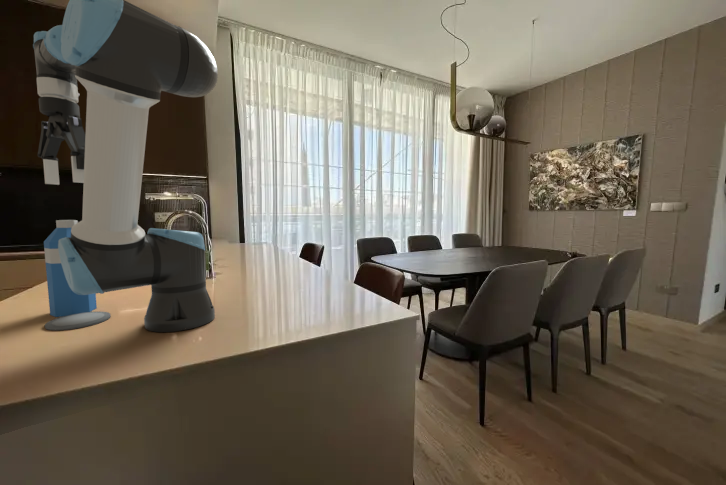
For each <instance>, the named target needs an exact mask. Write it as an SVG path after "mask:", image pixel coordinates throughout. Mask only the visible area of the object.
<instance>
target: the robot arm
mask: <svg viewBox="0 0 726 485" xmlns="http://www.w3.org/2000/svg"><path fill="white" fill-rule="evenodd" d="M32 48H33V50H34V60H35V68H36V88H37V95H38V96H39V98H38V106H39V110H38V111H39V112H40V113H41V114H42V115H45V116H47V118H48V121H44V120H42V121H40V122H41V124H40V125H41V129H40V130H41V131H40V138H39V144H38V150H37V157H38V158H41V160H42V162H43V163H42V164H43V175H44V184H45V185H57V186H59V185H60V175H59V173H60V172H59V161H60V160H59V158H58V157H57V155H58V153H59V150H60V147H61V144H62V143H63V142H64V141H65V143H66V144H67V146H68V148H69V149H70V153H69V155H70V162H71V174H72V183H78V184H79V183H80V184H83V191H82V192H83V194H82V213H81V214H82V215H81V216H82V218H81V220H80V221H78V223H77V224H75V225H73V226H72V228H71V238H69V237H65V238H62V239H59V241H58V242H59V243H58V250H59V256H60V260H61V264H62V268H63V271H64V274H65V277H66V280H67V282H68V285H69V287H70V288H71V290H72V291H73V292H74V293H76V294H78V295H88V294H96V295H97V294H100V295H101V294H105V293H110V292H115V291H121V290H127V289H133V288H140V287H145V286H151V288H150V289H151V296H150V299H149V302H148V305H147V309H146V313H145V315H144V318H143V321H144V322H143V323H144V329H146V330H147V331H149V332H155V333H172V332H180V331H187V330H191V329H195V328H198V327H201V326H204V325H206V324H208V323H210V322H212V321H214V319H215V318H216V317H215V316H216V315H215V313H216V312H215V306H214V305H213V302H212V299H211V297H210V295H209V292H208V289H207V282H206V281H207V278H206V277H207V276H206V246H205V240H204V236H203V234H202V233H200V232H199V231H189V230H188V231H187V230H179V229H178V230H176V229H166V228H154V227H150V228H148V230H147V234H146V232H145V229H143V228H142V227H141V226H140V225H139V224H138V222H139V221H138V220H139V214H140V212H139V211H140V202H141V192H142V191H141V190H142V184H143V183H142V182H143V174H144V173H143V171H144V162H145V151H146V142H147V131H148V123H149V111H150V108H151V107H153V106H154V105H156V104H157V103H159V102H161V96H162V95H161V93H162V92H165V93H169V94H173V95H177V96H180V97H185V98H186V97H187V98H200V97H204V96H207V95H208V94H210V93H211V92H212V91H213V89H214V88H215V87H216V85H217V83H218V78H219V77H218V76H219V74H218V73H219V70H218V65H217V62H216V59H215V57H214V56H213V54H212V52H211V50H210V49H209V48H208V46H207V45H206V44H205V43H204V42H203V41H202V40H201V39H200V38H199V37H198V36H197V35H195V34H194V33H192V32H190V31H189V30H188V29H185V28H183V27H180V26H178V25H176V24H173V23H171V22H169V21H168V20H166V19H163V18H162V17H160V16H157V15H155V14H153V13H151V12H149V11H147V10H145V9H143V8H141V7H140V6H137V5H135V4H133V3H131V2H129V1H127V0H69V1H68V3H67V6H66V9H65V11H64V16H63V20H62V24H59V25H58V24H57V25H56V26H52V28H50V29H49V30H48V31H46V30H41V31H36V32H34V34H33V44H32ZM78 82H79V83H80V84H81V86H83V87H84V88H85V90H86V112H85V114H86V115H85V129H84V127H83V123H82V122H83V121H82V118H81V113H80V112H81V110H80V106H79V104H78V103H79V97H80V93H79V91H78V90H79V88H78Z"/></svg>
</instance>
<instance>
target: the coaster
mask: <svg viewBox="0 0 726 485" xmlns="http://www.w3.org/2000/svg"><path fill="white" fill-rule="evenodd" d="M110 318H111V313H110V312H107V311H101V310H100V311H91V312H85V313H78V314H72V315H68V316H62V317H56V318H54V319H52V320H51V319H50V320H49V321H47V322H46V323H44V329H45V330H47V331H59V332H60V331H68V330H69V331H70V330H77V329H81V328H86V327H91V326H95V325H99V324H101V323H103V322H106V321H108V320H109V319H110Z"/></svg>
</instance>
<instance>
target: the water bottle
mask: <svg viewBox="0 0 726 485" xmlns="http://www.w3.org/2000/svg"><path fill="white" fill-rule="evenodd" d="M78 222H79V221H78V220H76V219H59V220H57V219H56V220H55V223H56V224H55V225H56V228H55V229H53V231H52V232H51V233H50V234H49V235H48V236H47V238H46V239H45V240H44V241H43V248H44V261H45V271H46V282H47V283H46V284H47V294H48V303H49V304H48V306H49V315H50V316H52V317H55V318H60V317H64V316H68V315H72V314H78V313H85V312H93V311H94V310H96V309H97V308H98V307H97V305H98V304H97V293H96V294H88V295H78V294H76V293H74V292H73V291H72V290H71V288H70V287H69V285H68V282H67V280H66V277H65V274H64V271H63V268H62V264H61V260H60V256H59V250H58V243H59V242H58V241H59V239H62V238H65V237H69V238H71V228H72V226H73V225H75V224H77V223H78Z"/></svg>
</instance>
